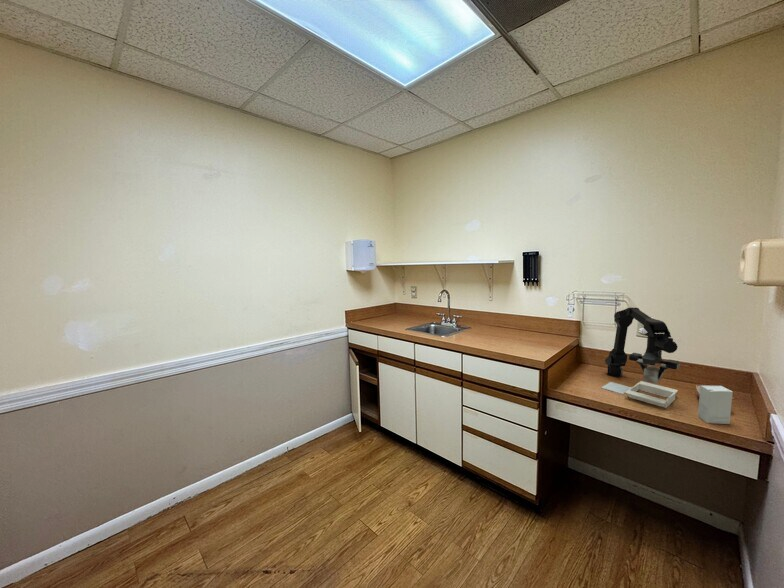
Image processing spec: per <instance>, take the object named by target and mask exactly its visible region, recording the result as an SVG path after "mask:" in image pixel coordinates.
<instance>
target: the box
mask: <svg viewBox="0 0 784 588" xmlns="http://www.w3.org/2000/svg"><path fill="white" fill-rule="evenodd" d="M659 370H660V366H657V365H649V364H648V365H647V367H646V368H645V369H644V373H643V378H642V381H643V382H647V383H651V384H655V385H657V384H658V383H659V382H660V381H662V379H663V375H662V376H661V378H660V379H658V375H659Z"/></svg>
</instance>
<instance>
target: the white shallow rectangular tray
mask: <svg viewBox="0 0 784 588" xmlns="http://www.w3.org/2000/svg"><path fill="white" fill-rule="evenodd" d="M638 391H642V392H646V393H649V394H654V395H658V396H660V397H663V398H666V399H663V398H660V397H655V396H653V395H649V394H646V393H641V392H638ZM678 391H679V390H678V389H674V388H671V387H666V386H664V385H659V384H654V383H650V382H646V381H643V380H640V381H639V382H637V383H636V384H635V385H634V386H631V388H630V389H629V390H628V391H626V392H625V393H624V394H627V397H628V398H631V399H634V400H638V401H640V402H644V403H648V404H651V405H655V406H658V407H661V408H665V409H667V408H668V407H669V406H670V405H671V404H672V403H673V402H675V400H676V393H678Z"/></svg>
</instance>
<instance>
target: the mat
mask: <svg viewBox="0 0 784 588" xmlns="http://www.w3.org/2000/svg"><path fill="white" fill-rule="evenodd" d="M600 388H601V389H603V390H605V391H610V392H613V393H616V394H620V395H624V394H626V393H625V392H626V391H628V390H629V389H630V388H632V386H627V385H624V384H620V383H616V382H614V381H613V382H612V381H609V382H608V383H606V384H604V385H603V386H601V387H600Z"/></svg>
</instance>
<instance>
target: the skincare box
mask: <svg viewBox="0 0 784 588" xmlns="http://www.w3.org/2000/svg"><path fill="white" fill-rule="evenodd" d="M733 393H734V392H733V391H732V390H730V389H729V388H726V387H725V386H723V385H709V386H700V397H699V396H698V398H699V399H698V411H697V417H698V418H700V420H702V421H704V422H705V423H707V424H721V425H722V424H723V425H730V424H731V413H732V404H733Z"/></svg>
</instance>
